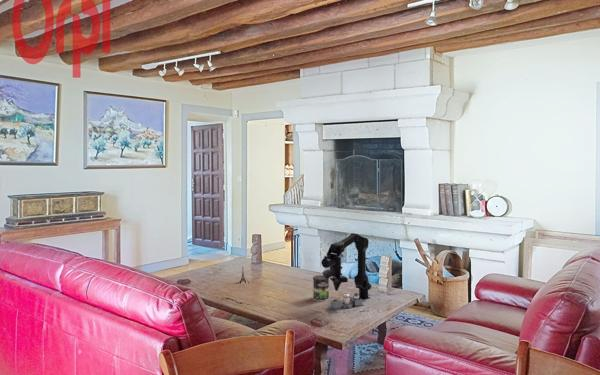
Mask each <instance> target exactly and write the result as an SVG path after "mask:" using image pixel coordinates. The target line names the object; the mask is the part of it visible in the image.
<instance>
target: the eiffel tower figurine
mask: <svg viewBox="0 0 600 375" xmlns="http://www.w3.org/2000/svg"><path fill="white" fill-rule="evenodd" d="M241 272H242V273H241V277H240V278H241V279H240V280H239V282H240V284H239V285H242V284H241V282H245V283H246V281H247V279H246V278H245V274H244V266H242V271H241Z"/></svg>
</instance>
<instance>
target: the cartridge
mask: <svg viewBox="0 0 600 375" xmlns="http://www.w3.org/2000/svg"><path fill="white" fill-rule="evenodd" d="M350 299H351V298H350V294H349V293H344V294H343V301H344V305H349V302H350Z"/></svg>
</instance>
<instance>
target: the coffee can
mask: <svg viewBox="0 0 600 375" xmlns="http://www.w3.org/2000/svg"><path fill="white" fill-rule="evenodd" d="M329 287H330V278H328V279H326V278H324V276H323V274H322V275H320V274H319V275H314V276H313V277H312V297H313V298H312V300H314V301H318V302H325V301H328V300H330V296H329V294H330V293H329V292H330V289H329Z"/></svg>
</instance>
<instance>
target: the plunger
mask: <svg viewBox="0 0 600 375" xmlns="http://www.w3.org/2000/svg"><path fill="white" fill-rule="evenodd" d="M353 295H354V296H353V298H354V299H355V300H358V299H359V292H358V293H356V292H355V293H353Z"/></svg>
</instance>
